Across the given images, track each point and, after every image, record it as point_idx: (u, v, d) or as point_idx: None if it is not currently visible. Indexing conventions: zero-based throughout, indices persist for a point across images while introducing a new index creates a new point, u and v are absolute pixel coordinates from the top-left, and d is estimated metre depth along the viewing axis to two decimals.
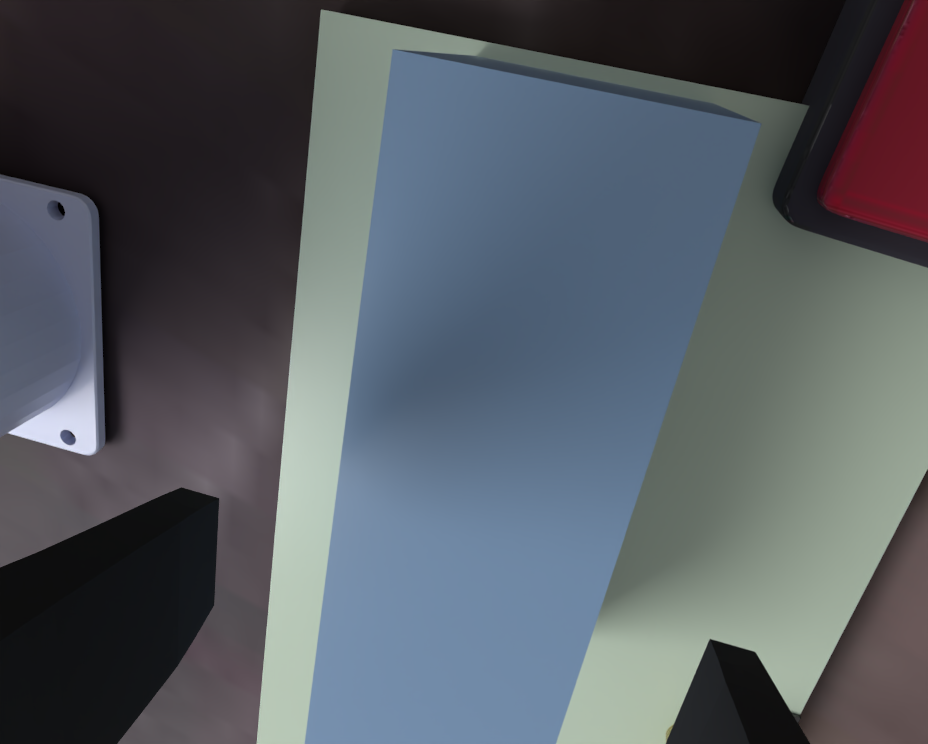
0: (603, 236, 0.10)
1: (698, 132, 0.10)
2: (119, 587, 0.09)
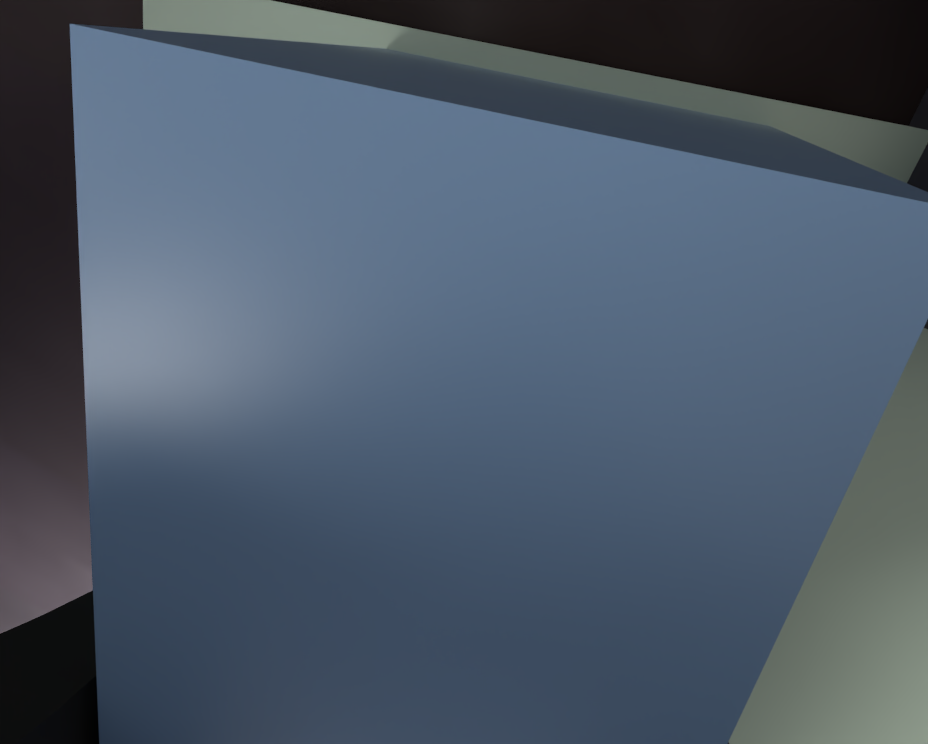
0: (572, 451, 0.05)
1: (807, 231, 0.04)
2: None
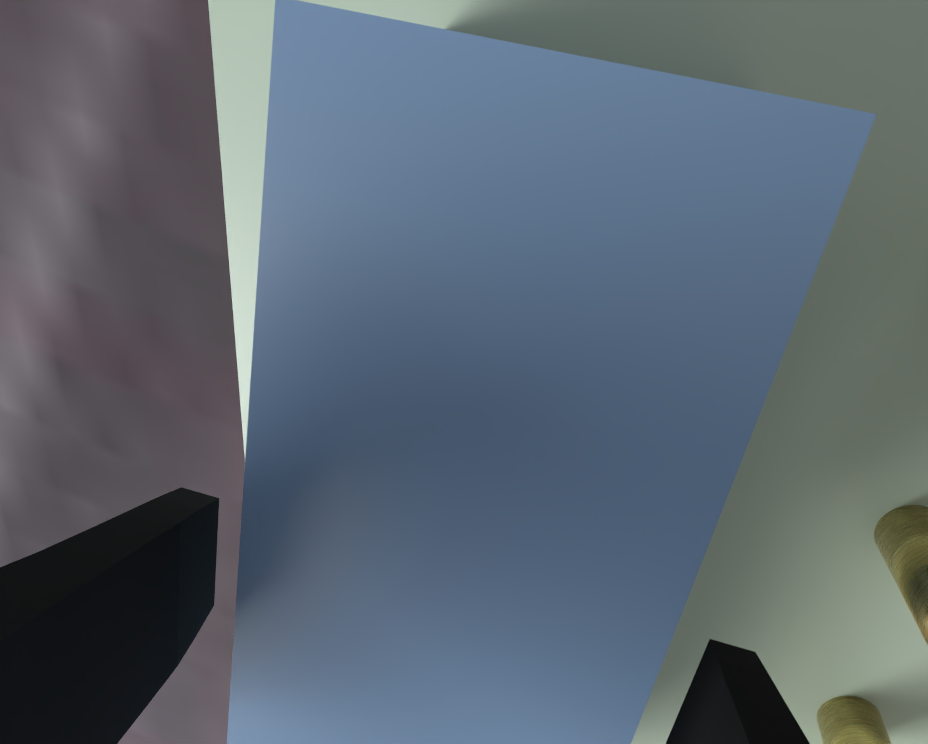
0: (611, 293, 0.07)
1: (769, 128, 0.06)
2: (119, 587, 0.09)
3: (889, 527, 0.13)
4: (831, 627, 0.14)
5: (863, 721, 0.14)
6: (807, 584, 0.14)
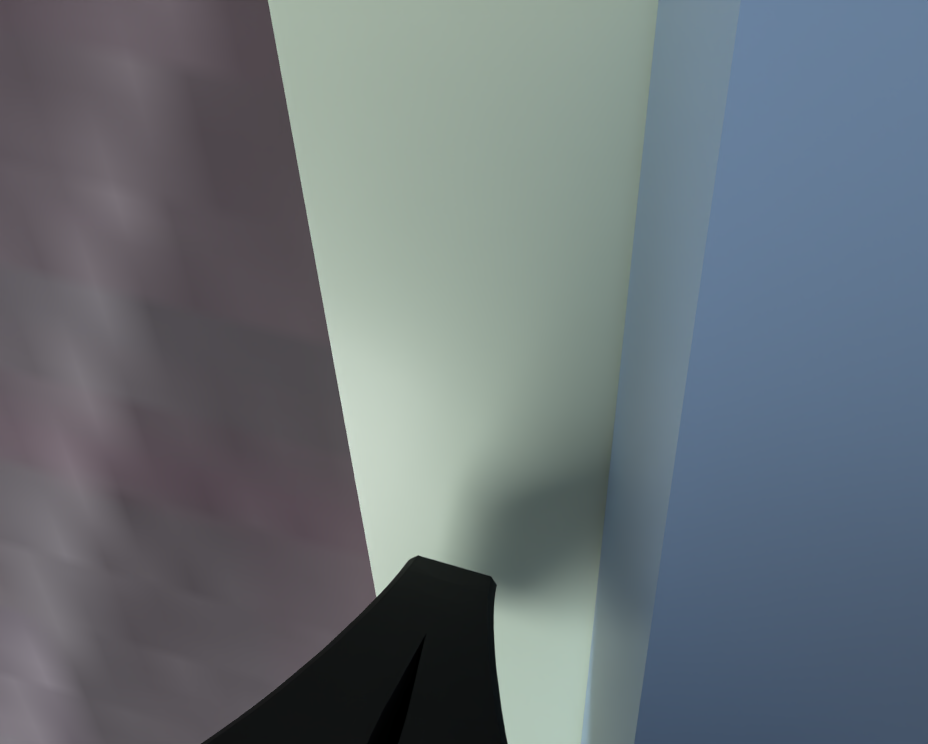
0: None
1: None
2: (410, 677, 0.08)
3: None
4: None
5: None
6: None
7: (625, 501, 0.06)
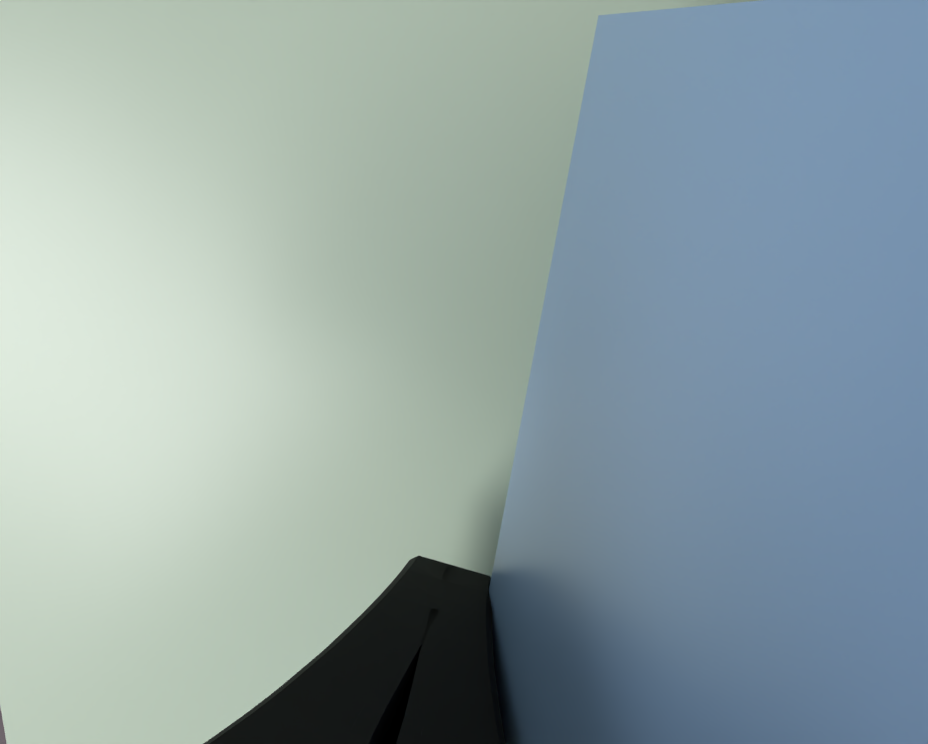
0: None
1: None
2: (411, 677, 0.08)
3: None
4: None
5: None
6: None
7: (586, 661, 0.05)
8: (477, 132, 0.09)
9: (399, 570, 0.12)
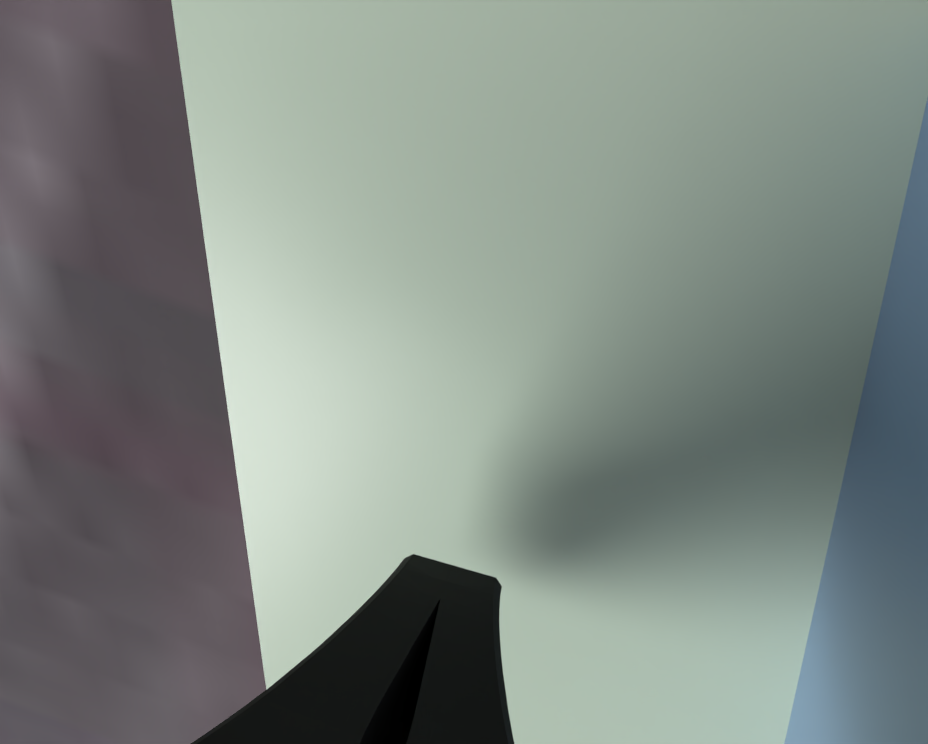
0: None
1: None
2: (405, 675, 0.08)
3: None
4: None
5: None
6: None
7: None
8: (821, 140, 0.09)
9: (722, 598, 0.11)
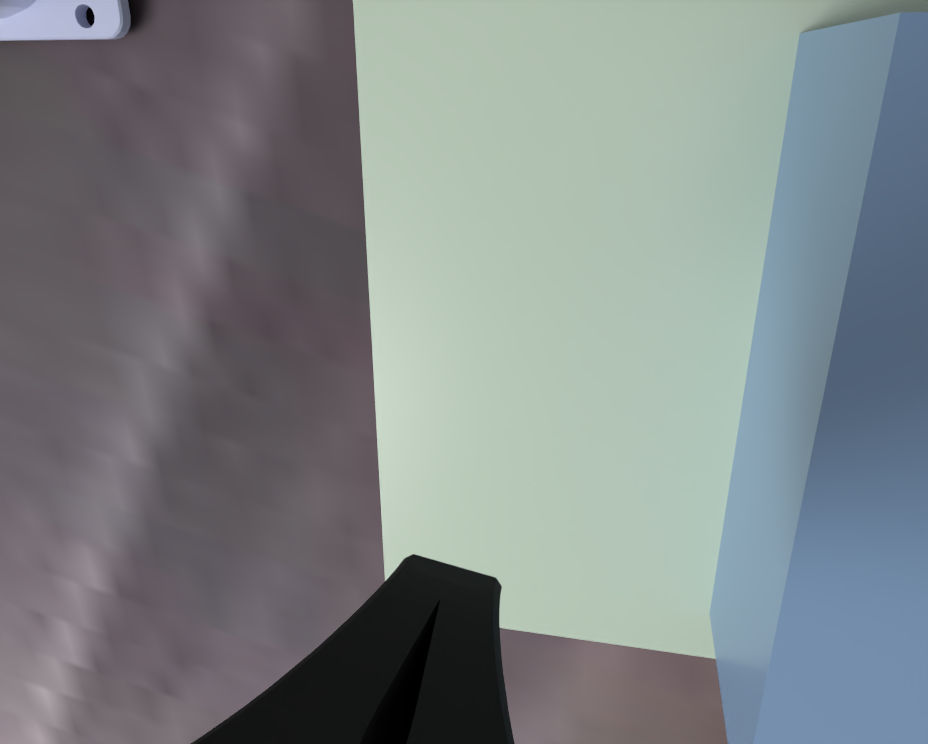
0: None
1: None
2: (405, 675, 0.08)
3: None
4: None
5: None
6: None
7: (797, 300, 0.13)
8: (735, 105, 0.15)
9: (685, 399, 0.18)
